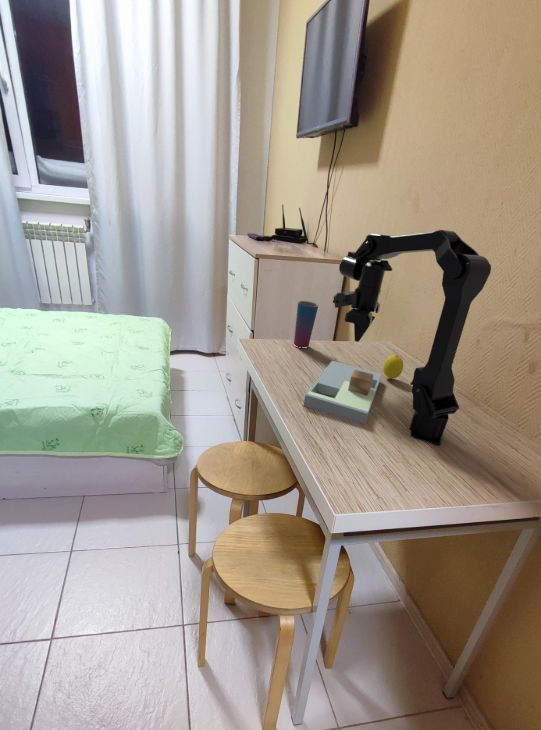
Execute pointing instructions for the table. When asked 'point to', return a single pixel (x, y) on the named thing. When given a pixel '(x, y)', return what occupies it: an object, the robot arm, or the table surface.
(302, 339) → the cup
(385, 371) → the lemon
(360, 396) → the board
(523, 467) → the table surface
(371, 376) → the block
